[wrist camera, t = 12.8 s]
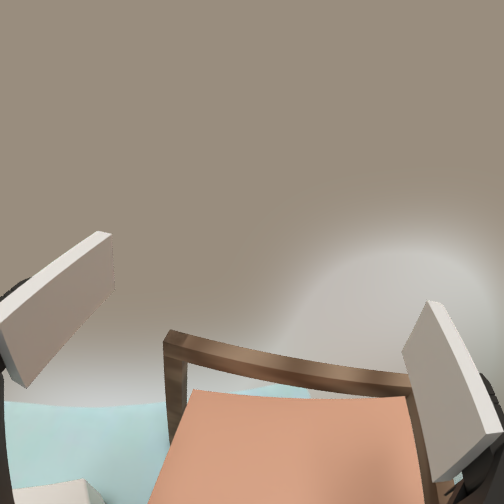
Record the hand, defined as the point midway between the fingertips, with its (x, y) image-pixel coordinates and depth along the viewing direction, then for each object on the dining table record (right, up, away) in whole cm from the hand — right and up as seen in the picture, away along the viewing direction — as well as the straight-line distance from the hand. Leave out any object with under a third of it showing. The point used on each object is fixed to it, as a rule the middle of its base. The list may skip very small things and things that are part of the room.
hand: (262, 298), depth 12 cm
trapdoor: (+2, -13, +2) cm, 13 cm away
